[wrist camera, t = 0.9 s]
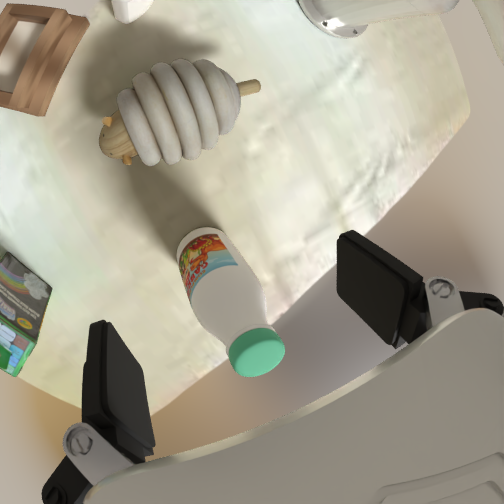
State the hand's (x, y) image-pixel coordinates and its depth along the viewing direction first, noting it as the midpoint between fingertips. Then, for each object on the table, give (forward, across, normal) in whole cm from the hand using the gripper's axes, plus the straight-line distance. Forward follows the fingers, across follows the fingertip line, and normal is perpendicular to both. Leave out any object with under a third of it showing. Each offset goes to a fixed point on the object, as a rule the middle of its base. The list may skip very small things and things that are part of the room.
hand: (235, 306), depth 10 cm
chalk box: (+26, +27, +7) cm, 38 cm away
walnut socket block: (+26, +14, -21) cm, 36 cm away
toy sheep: (+26, -2, -7) cm, 27 cm away
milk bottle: (+26, -1, +12) cm, 28 cm away
